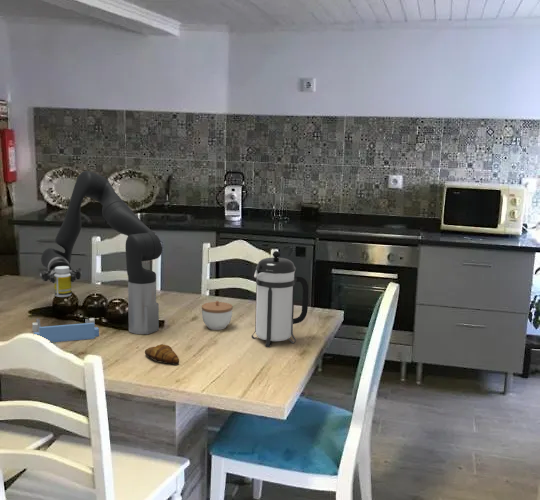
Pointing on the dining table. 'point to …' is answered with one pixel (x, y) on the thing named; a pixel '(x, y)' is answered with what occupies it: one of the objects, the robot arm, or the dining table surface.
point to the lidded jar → (217, 314)
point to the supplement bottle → (62, 281)
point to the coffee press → (277, 299)
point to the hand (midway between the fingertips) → (63, 279)
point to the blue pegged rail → (67, 331)
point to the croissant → (162, 354)
